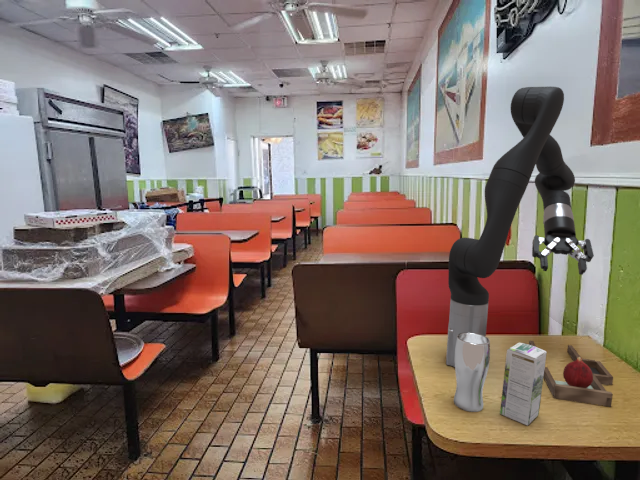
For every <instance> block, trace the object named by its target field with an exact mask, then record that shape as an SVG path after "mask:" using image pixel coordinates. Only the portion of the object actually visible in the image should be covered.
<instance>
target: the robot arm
mask: <svg viewBox="0 0 640 480" xmlns="http://www.w3.org/2000/svg"><path fill="white" fill-rule="evenodd" d="M510 102H511V103H510V115H511V118H512V121H513V122H514V124H515V126H516V128H517V129H518V131H519V132H520V134H521V136H522V139H521V140H520V141H519V142H517V144H516V145H514V146H513V147H512V148H510V149H509V150H508V151H507V152H505V153H504V154H503V155H502V156H501V157H500V158H499V159H498V160H497V161H496V162H495V164H494V165H493V167H492V169H491V171H490V174H489V176H488V179H487V181H486V183H485V186H484V200H485V201H484V202H485V207H486V219H485V220H486V221H485V225H484V227H483V231H482V233H481V235H480V236H479V239H477V238H472V237H461V238H458V239H456V240H455V241H454V242H453V244H452V246H451V248H450V250H449V255H448V274H447V275H448V277H447V278H448V289H449V291H450V292H449V293H450V303H449V318H448V319H449V320H448V324H447V325H448V327H447V339H446V340H447V343H446V353H445V354H446V357H445V359H446V362H445V364H446V365H447V366H451V367H454V368H455V347H456V341H457V335H458V334H460V333H477V334H481V335H483V336H486V335H487V324H488V314H489V313H488V312H489V310H488V309H489V301H490V295H489V294H490V293H489V291H488V290H487V288H485V286H483V285H482V284H481V282H480V281H479V279H486V278H489V277H490V276H492V275H493V274H494V273H495V271H496V270H497V268H498V267H499V264H500V261H501V259H502V256H503V253H504V249H505V246H506V242H507V239H508V236H509V232H510V229H511V227H512V224H513V221H514V218H515V215H516V213H517V211H518V208H519V205H520V203H521V201H522V199H523V197H524V195H525V193H526V190H527V187H528V186H529V183H530V180H531V177H532V175H533V173H534V172H533V171H534V170H535V167H536V169H537V171H538V173H537V174H536V176H535V177H534V185H535V188H536V190H537V191H538V194H539V195H540V197H541V200H542V206H543V218H542V219H543V220H542V221H543V222H542V224H543V228H544V229H543V233H544V237H540V236H539V234H538V235H537V234H536V235H534V237H533V239H532V244H531V245H532V246H531V247H532V248H531V249H532V250H531V257H533V258H538V259H539V261H540V262H539V263H540V264H539V265H540V269H541V270H542V271H543V272H547V271H548V269H549V262H548V256H550V254H552V253H554V255H565V256H567V255H569V256H570V257H571V258H572V259H575V260H576V262H577V268H578V274H579V275H583V274H585V273H586V271H587V270H588V267H587V263H591V261H592V259H593V258H594V257H595V256H594V255H595V254H594V251H593V250H594V249H593V247H592V242H591V239H589V238H585V239H584V240H579V239H578V238H577V234H576V227H575V219H574V213H573V210H572V202H571V197H570V195H569V193H568V192H567V191H568V190H570V189H572V188H573V187H574V185H575V183H576V178H575V174H574V171H572V169H571V168H570V167H569V166H568V164H566V162H565V161H564V157H563V153H562V149H561V146H560V143H558V141H557V140H556V139H555V138H554V136H552V135H551V133H552V131H553V129H554V127H555V125H556V123H557V121H558V119H559V118H560V114H561V111H562V109H563V105H564V103H565V93H564V91H563V89H562V88H560V87H558V86H526V87H521V88H519V89H517V91H515V93H514V94H513V96H512V99H511V101H510ZM542 243H543V245H545V248H544V250H542V251H540V246H541V245H542ZM578 246H580V247H578ZM581 250H583V252H582V251H581ZM486 337H487V336H486Z"/></svg>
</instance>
